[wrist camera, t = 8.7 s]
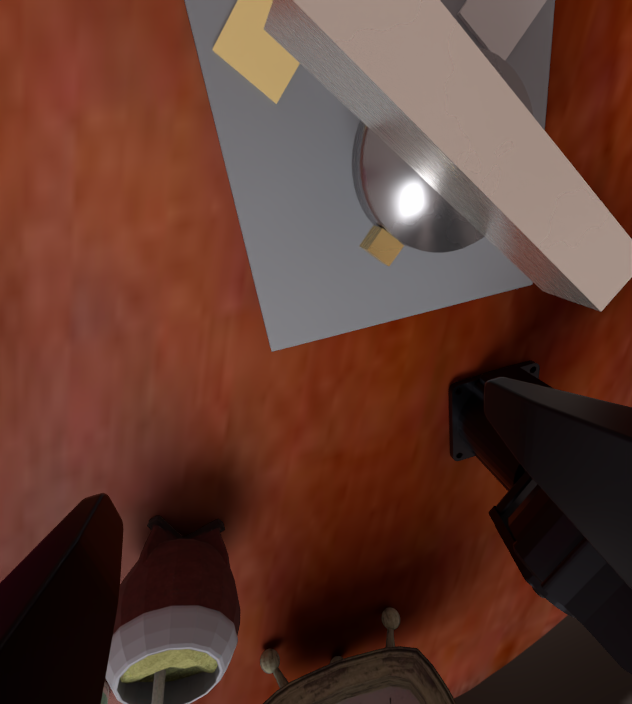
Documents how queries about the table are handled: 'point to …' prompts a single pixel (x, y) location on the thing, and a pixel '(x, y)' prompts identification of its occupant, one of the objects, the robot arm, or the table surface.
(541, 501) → the robot arm
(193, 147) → the table surface
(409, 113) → the handle
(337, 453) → the table surface
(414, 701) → the tabletop clock
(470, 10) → the base
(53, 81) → the table surface
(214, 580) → the mate gourd
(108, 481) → the table surface
